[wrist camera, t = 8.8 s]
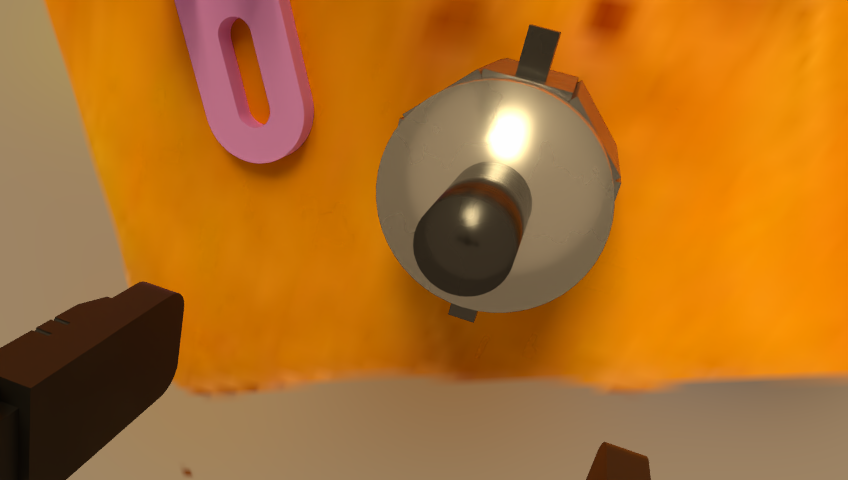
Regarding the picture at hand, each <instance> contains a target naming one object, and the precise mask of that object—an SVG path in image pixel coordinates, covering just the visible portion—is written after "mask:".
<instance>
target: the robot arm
mask: <svg viewBox="0 0 848 480" xmlns="http://www.w3.org/2000/svg"><path fill="white" fill-rule="evenodd" d="M183 312H184V300H183V297H182V295H181V294H179V293H176V292H173V291H170V290H167V289H164V288H162V287H159V286H156V285H153V284H150V283H147V282H139V283H137V284H135V285H134V286H132V287H130V288H129V289H127V290H125V291H124V292H122V293H120V294H119V295H117V296H115V297H113V298H109V297H105V298H100V299H97V300H93V301H89V302H86V303H82V304H78V305H76V306H74V307H72V308H71V309H69V310H67V311H65V312H64V313H62V314H60V315H58V316H56V317H55V319H54V321H53V320H49V321H47V322H46V323H44V324H42V325H40V326H39V327H37V328H36V330H35V331H30V332H28V333H26V334H24V335H23V336H21V337H19V338H17V339H15V340H14V341H12V342H10V343H9V344H7V345H5V346H3V347H1V348H0V480H66V479H67V478H68V477H70V476H71V475H72V474H73V473H74V472H75V471H77V470H78V469H79V468H80V467H81V466H82V465H83V464H84V463H86V462H87V461H88V460H89V459H90V458H91V457H92V456H94V455H95V454H96V453H97V452H98V451H99V450H100V449H102V448H103V447H104V446H105V445H106V444H107V443H108V442H110V441H111V440H112V439H113V438H114V437H115V436H116V435H117V434H118V433H120V432H121V431H122V430H123V429H124V428H125V427H127V425H129V424H130V423H131V422H132V421H133V420H134V419H136V418H137V417H138V416H139V415H140V414H141V413H143V412H144V411H145V410H146V409H147V408H148V407H149V406H150V405H152V404H153V403H154V402H155V401H156V400H157V399H158V398H159V397H161V396H162V395H163V394H164V392H165V391H166V390H167V388H168V386H169V385H170V384H171V382H172V380H173V377H174V375H175V372H176V369H177V364H178V356H179V347H180V338H181V330H182V321H183ZM586 480H651V478H650V469H649V461H648V458H647V456H644V455H641V454H638V453H635V452H632V451H629V450H626V449H624V448H621V447H618V446H615V445H612V444H609V443H606V442H603V443H602V445H601V446H600V448H599V450H598V452H597V454H596V457H595V459H594V461H593V464H592V466H591V469H590V471H589V474H588V476H587V479H586Z"/></svg>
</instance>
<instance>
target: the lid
mask: <svg viewBox="0 0 848 480" xmlns="http://www.w3.org/2000/svg"><path fill="white" fill-rule="evenodd" d="M376 202H377V210H378V216H379V220H380V224H381V228H382V230H383V233H384V235H385V238H386V241H387V243H388V245H389V246H390V248H391V250H392V252H393V254H394V255H395V257H396V258H397V260H398V261H399V262H400V264H401V265H402V267H403V268H404V269H405V270H406V271H407V272H408V273H409V274H410V275H411V277H412V278H413V279H415V280H416V281H417V282H418V283H419V284H420V285H422V286H423V287H424V288H425V289H427V290H428V291H430V292H431V293H433V294H434V295H436V296H438V297H440V298H442V299H444V300H446V301H448V302H450V303H452V304H455V305H458V306H460V307H463V308H467V309H472V310H476V311H483V312H491V313H507V312H515V311H522V310H526V309H530V308H534V307H537V306H540V305H542V304H545V303H547V302H550V301H552V300H553V299H555V298H557V297H559V296H561V295H563V294H564V293H565V292H567V291H568V290H569V289H571V288H572V287H573V286H575V285H576V284H577V283H578V282H579V281H580V280H581V279H582V278H583V277H584V276H585V275H586V274H587V273H588V271H589V270H590V269H591V268H592V266H593V265H594V264H595V262H596V261H597V259H598V257H599V256H600V254H601V252H602V251H603V248H604V246H605V243H606V241H607V239H608V236H609V233H610V229H611V225H612V221H613V213H614V183H613V177H612V171H611V166H610V162H609V159H608V156H607V153H606V150H605V148H604V146H603V144H602V142H601V140H600V138H599V136H598V135H597V133H596V132H595V130H594V129H593V127H592V125H591V124H590V123H589V122H588V121H587V119H586V118H585V117H584V116H583V115H582V114H581V113H580V112H579V111H578V110H577V109H576V108H575V107H574V106H573V105H571V104H570V103H569V102H568V101H566V100H565V99H563V98H562V97H560V96H559V95H557V94H556V93H554V92H552V91H550V90H548V89H546V88H544V87H541V86H539V85H536V84H533V83H530V82H527V81H522V80H517V79H511V78H494V77H493V78H482V79H475V80H471V81H467V82H462V83H460V84H457V85H455V86H452V87H449V88H447V89H445V90H443V91H441V92H439V93H437V94H435V95H433V96H432V97H430V98H428V99H427V100H425V101H424V102H422V103H421V104H420V105H418V106H417V107H416V108H415V109H414V110H413V111H412V112H410V113H409V114H408V115H407V116H406V117H405V118H404V120H403V121H402V122H401V123H400V125H399V126H398V127H397V129H396V130H395V131H394V133H393V135H392V137H391V138H390V140H389V142H388V144H387V146H386V148H385V151H384V153H383V156H382V159H381V162H380V166H379V170H378V176H377V184H376Z"/></svg>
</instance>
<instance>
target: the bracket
mask: <svg viewBox="0 0 848 480" xmlns="http://www.w3.org/2000/svg"><path fill="white" fill-rule="evenodd" d="M174 1H175V4H176V8H177V11H178V15H179V19H180V22H181V26H182V30H183V33H184V37H185V40H186V44H187V48H188V51H189V55H190V58H191V62H192V66H193V69H194V73H195V77H196V80H197V84H198V87H199V91H200V95H201V98H202V102H203V106H204V109H205V113H206V116H207V120H208V123H209V126H210V128H211V130H212V132H213V134H214V136H215V137H216V139H217V140H218V141H219V143H220V144H221V145H222V146H223V147H224V148H225V149H226V150H227V151H228V152H230V153H231V154H233V155H234V156H236V157H238V158H240V159H242V160H244V161H248V162H252V163H269V162H273V161H276V160H278V159H280V158H283V157H285V156H287V155H289V154H291V153H293V152H294V151H296V150H297V149H298V148H299V147H300V146H301V145H302V144H303V143H304V142H305V140H306V138H307V137H308V135H309V133H310V130H311V127H312V123H313V117H314V106H313V99H312V95H311V90H310V86H309V82H308V78H307V73H306V69H305V65H304V60H303V56H302V52H301V47H300V43H299V39H298V35H297V30H296V26H295V22H294V17H293V13H292V9H291V5H290V0H174ZM238 18H241V19H242V20H244V21H245V22H246V23H247V25H248V26H249V28H250V31H251V34H252V38H253V42H254V46H255V50H256V54H257V58H258V62H259V66H260V70H261V74H262V78H263V82H264V86H265V90H266V94H267V98H268V102H269V106H270V117H269V120H268V122H267V123H266V124H261V123H259V122H257V121H256V120H255V119H254V118H253V116H252V115H251V113H250V110H249V106H248V102H247V98H246V94H245V91H244V87H243V83H242V79H241V75H240V71H239V67H238V63H237V60H236V56H235V52H234V48H233V44H232V40H231V35H230V32H231V27H232V25H233V23H234V22H235V21H236V20H237V19H238Z"/></svg>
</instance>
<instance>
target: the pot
mask: <svg viewBox="0 0 848 480" xmlns="http://www.w3.org/2000/svg"><path fill="white" fill-rule="evenodd" d="M560 34H561V32H558V31H555V30H551V29H547V28H543V27H539V26H535V25H529V29H528V32H527V36H526V39H525V43H524V46H523V50H522V53H521V57H520V61H515V60H512V59H508V58H506V59H500V60H498V61H496V62H493V63H491V64H489V65H486V66H484V67H482V68H479V69H477V70H475V71H474V72H472V73H470V74H469V75H467V76H466V77H464V78H462V79H461V80H459V81H457V82H456V83H454V84H452V85H451V86H449V87H452V86H455V85H457V84H460V83H462V82H467V81H471V80H475V79H482V78H493V77H494V78H511V79H517V80H522V81H527V82H530V83H533V84H536V85H539V86H541V87H544V88H546V89H548V90H550V91H552V92H554V93H556V94H557V95H559V96H560V97H562V98H563V99H565V100H566V101H568V102H569V103H570V104H571V105H573V106H574V107H575V108H576V109H577V110H578V111H579V112H580V113H581V114H582V115H583V116H584V117H585V118H586V119H587V121H588V122H589V123H590V124H591V125H592V127H593V129H594V130H595V132H596V133H597V135H598V136H599V138H600V140H601V142H602V144H603V146H604V148H605V150H606V153H607V156H608V159H609V162H610V166H611V171H612V177H613V183H614V201H615V199H616V196H617V193H618V190H619V188H620V185H621V175H620V168H619V160H618V153H617V146H616V144H615V142H614V140H613V138H612V136H611V134H610V132H609V130H608V128H607V127H606V125H605V123H604V121H603V119H602V117H601V115H600V113H599V111H598V110H597V108H596V106H595V104H594V102H593V100H592V98H591V96H590V94H589V93H588V91H587V89H586V87H585V85H584V83H583V81H580V82H578V83H577V80H578V77H575V76H571V75H567V74H564V73H560V72H556V71H553V70H550V68H551V65H552V61H553V58H554V55H555V51H556V48H557V45H558V41H559V38H560ZM449 87H447V88H449ZM447 88H446V89H447ZM444 90H445V89H444ZM442 91H443V90H442ZM419 105H420V104H419ZM416 107H417V106H416ZM416 107H414V108H413V109H411V110H409V111H408V112H406V113H404V114H403V116H404V117H402V118H400V120H399V124H398V126H399V125H400V123H401V122H402V121H403V120H404V118H405V117H406V116H407V115H408V114H409V113H410V112H412V111H413V110H414V109H415V108H416ZM477 312H478V311H476V310H472V309H467V308H463V307H460V306H458V305H455V304H452V303H451V306H450V310H449V313H448V314H449V315H452V316H455V317H458V318H461V319H464V320H467V321H470V322H473V323H474V321H475V318H476V316H477Z"/></svg>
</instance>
